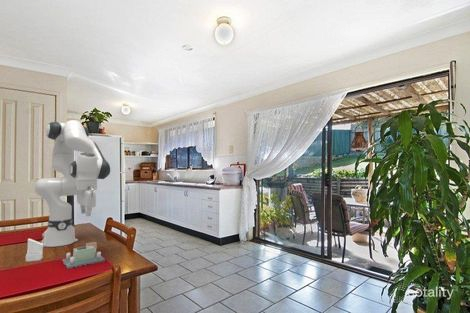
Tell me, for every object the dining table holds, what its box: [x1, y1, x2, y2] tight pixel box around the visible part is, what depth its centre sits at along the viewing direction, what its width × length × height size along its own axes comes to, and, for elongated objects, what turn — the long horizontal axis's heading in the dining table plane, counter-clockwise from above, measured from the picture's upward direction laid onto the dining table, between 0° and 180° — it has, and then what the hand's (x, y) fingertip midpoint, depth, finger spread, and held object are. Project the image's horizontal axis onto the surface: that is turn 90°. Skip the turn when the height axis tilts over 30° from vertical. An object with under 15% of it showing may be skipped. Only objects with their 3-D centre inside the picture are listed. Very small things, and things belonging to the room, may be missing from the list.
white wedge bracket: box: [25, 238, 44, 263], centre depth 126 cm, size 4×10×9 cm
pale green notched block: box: [72, 245, 95, 262], centre depth 124 cm, size 5×8×6 cm, turn 133°
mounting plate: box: [61, 248, 106, 270], centre depth 124 cm, size 13×15×4 cm
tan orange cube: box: [85, 241, 98, 250], centre depth 137 cm, size 5×5×5 cm
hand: (85, 214), depth 127 cm, fingers open, 8 cm apart
